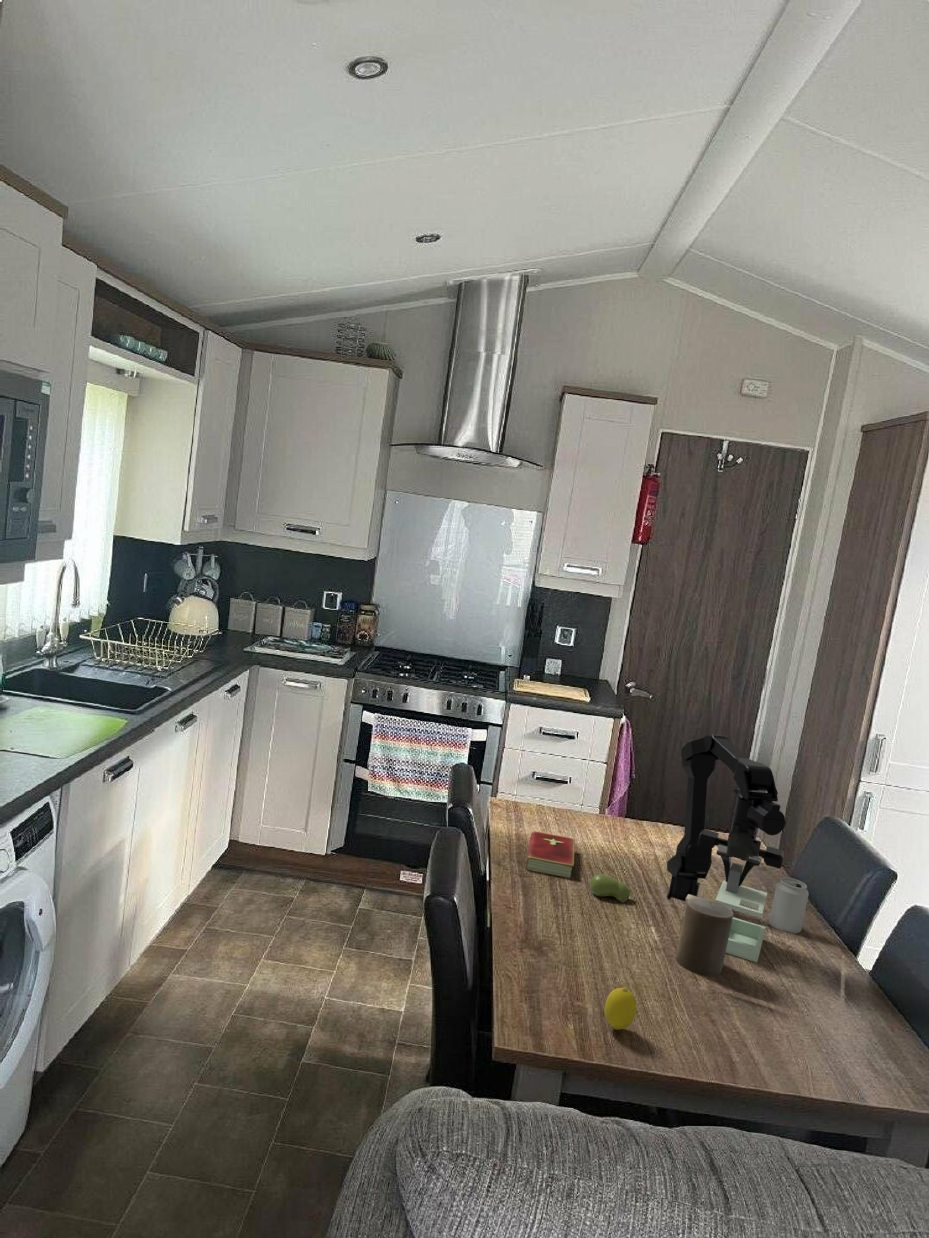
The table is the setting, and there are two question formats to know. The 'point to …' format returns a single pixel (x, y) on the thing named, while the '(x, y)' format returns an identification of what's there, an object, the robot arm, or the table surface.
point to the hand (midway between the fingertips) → (733, 883)
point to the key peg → (685, 908)
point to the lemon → (620, 1008)
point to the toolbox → (745, 939)
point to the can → (789, 905)
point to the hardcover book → (550, 854)
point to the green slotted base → (740, 894)
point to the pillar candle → (704, 936)
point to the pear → (609, 887)
